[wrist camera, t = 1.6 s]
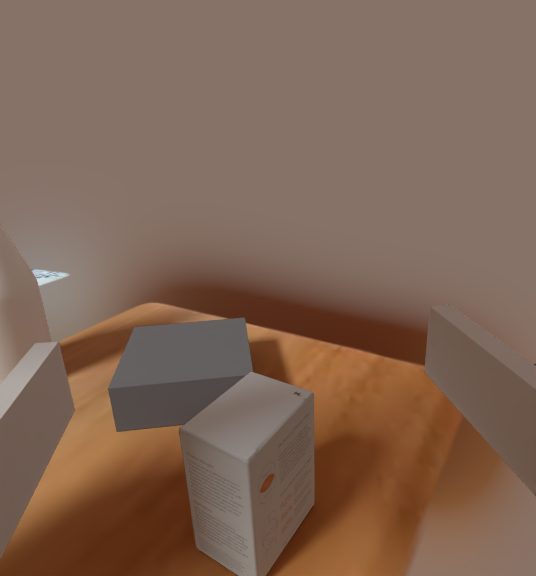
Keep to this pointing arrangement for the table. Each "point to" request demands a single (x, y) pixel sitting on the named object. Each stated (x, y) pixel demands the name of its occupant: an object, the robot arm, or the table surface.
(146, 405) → the plinth
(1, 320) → the wine bottle
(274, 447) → the small box
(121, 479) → the table surface
